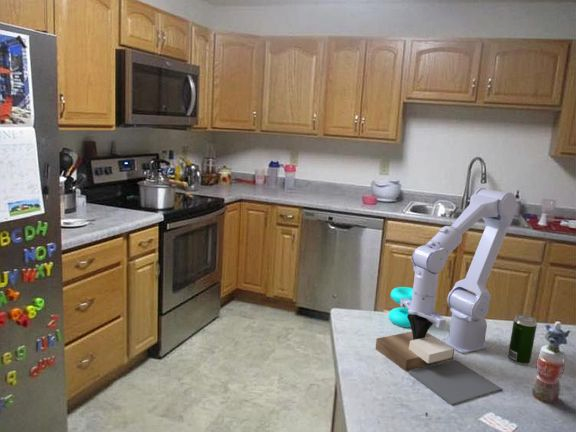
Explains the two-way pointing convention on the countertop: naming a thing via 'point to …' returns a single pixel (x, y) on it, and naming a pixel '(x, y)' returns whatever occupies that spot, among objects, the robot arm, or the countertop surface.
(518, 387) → the countertop surface
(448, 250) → the robot arm
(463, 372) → the mat
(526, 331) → the beer can
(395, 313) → the donuts
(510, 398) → the countertop surface
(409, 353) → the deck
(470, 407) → the countertop surface
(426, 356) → the tile
